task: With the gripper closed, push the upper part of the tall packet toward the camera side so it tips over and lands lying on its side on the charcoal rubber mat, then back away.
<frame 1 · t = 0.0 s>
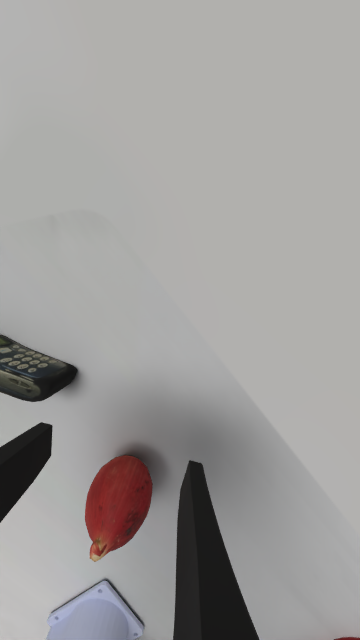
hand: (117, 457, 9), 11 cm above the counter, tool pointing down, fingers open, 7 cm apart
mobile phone: (19, 351, 20), on the counter
red rounded piece: (133, 459, 20), on the counter
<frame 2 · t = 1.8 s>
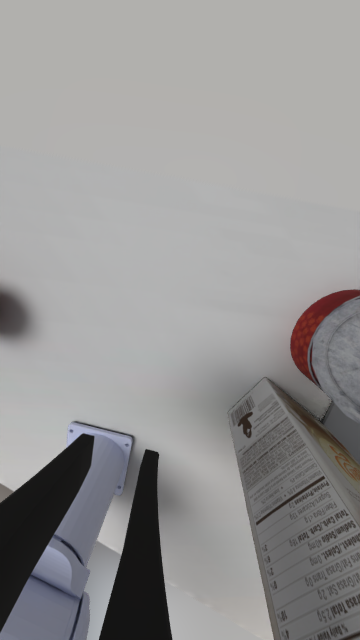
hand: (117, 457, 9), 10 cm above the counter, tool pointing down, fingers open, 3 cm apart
coffee box: (273, 417, 19), on the counter, touching mat
canned food: (339, 339, 17), on the counter
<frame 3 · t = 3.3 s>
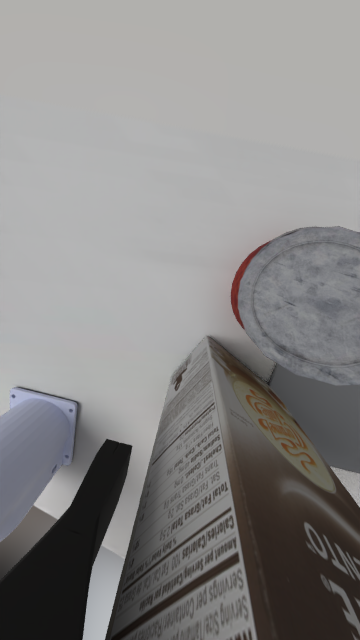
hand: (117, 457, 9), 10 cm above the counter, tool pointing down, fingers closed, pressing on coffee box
coffee box: (219, 380, 19), on the counter, touching gripper, mat
canned food: (282, 293, 17), on the counter
mat: (338, 422, 19), on the counter
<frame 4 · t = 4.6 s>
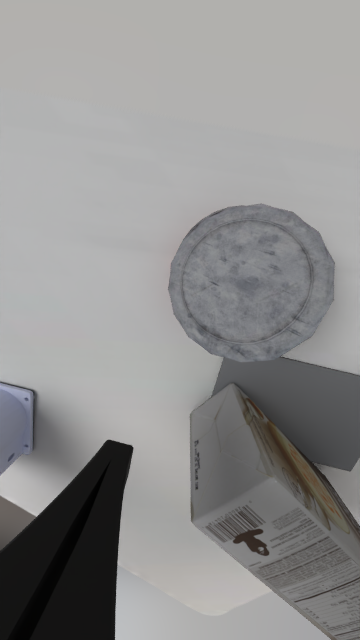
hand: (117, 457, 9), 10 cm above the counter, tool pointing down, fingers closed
coffee box: (215, 433, 14), point 5 cm above the counter, touching mat
canned food: (227, 278, 16), on the counter
mat: (291, 410, 18), on the counter
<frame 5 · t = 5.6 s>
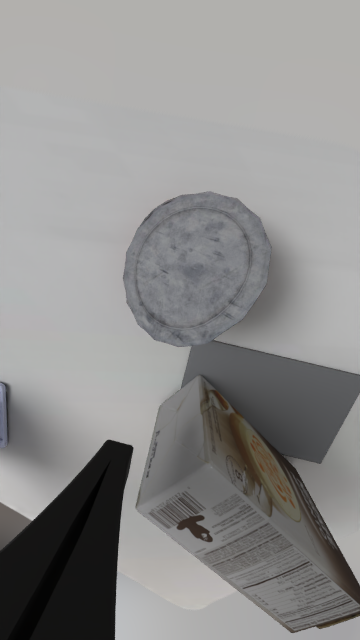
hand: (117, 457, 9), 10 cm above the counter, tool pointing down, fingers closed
coffee box: (173, 423, 14), point 5 cm above the counter, touching mat
canned food: (191, 269, 16), on the counter
mat: (260, 402, 18), on the counter
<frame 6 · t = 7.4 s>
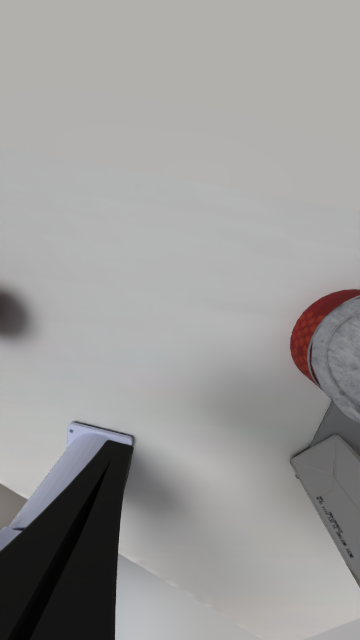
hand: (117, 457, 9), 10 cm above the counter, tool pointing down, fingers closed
coffee box: (346, 494, 15), point 5 cm above the counter, touching mat
canned food: (339, 338, 17), on the counter
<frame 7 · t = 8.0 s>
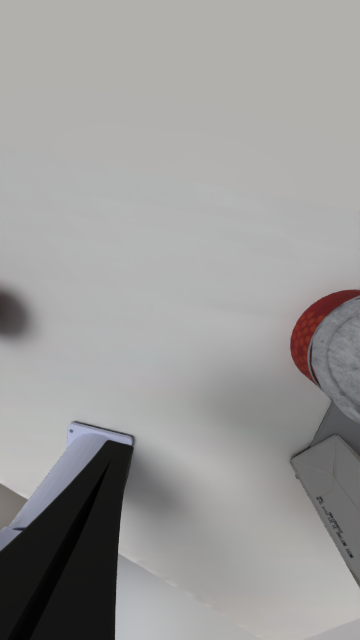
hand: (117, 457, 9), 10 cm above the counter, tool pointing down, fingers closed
coffee box: (346, 494, 15), point 5 cm above the counter, touching mat
canned food: (339, 339, 17), on the counter
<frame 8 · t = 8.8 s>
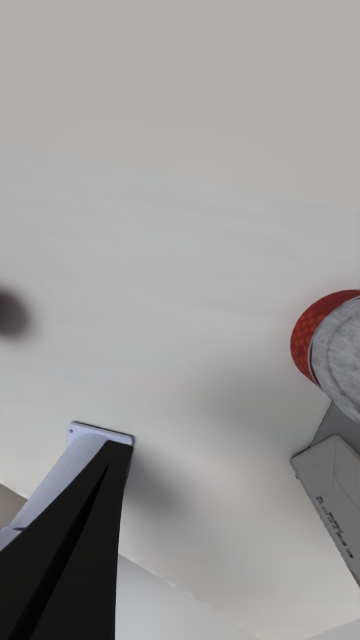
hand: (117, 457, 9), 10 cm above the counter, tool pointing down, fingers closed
coffee box: (346, 494, 15), point 5 cm above the counter, touching mat
canned food: (339, 339, 17), on the counter
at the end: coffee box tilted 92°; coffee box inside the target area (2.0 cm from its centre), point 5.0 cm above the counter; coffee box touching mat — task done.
